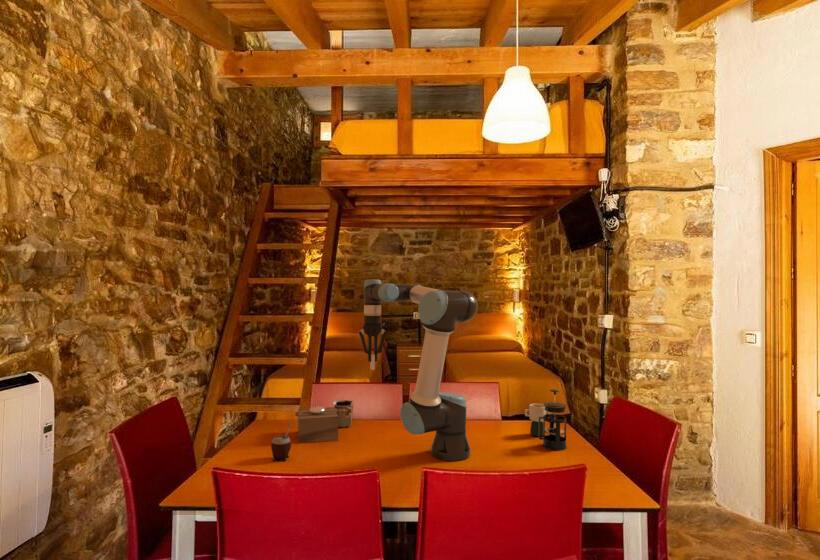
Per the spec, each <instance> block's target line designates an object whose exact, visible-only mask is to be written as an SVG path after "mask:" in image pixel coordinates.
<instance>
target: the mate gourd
mask: <svg viewBox="0 0 820 560" xmlns="http://www.w3.org/2000/svg"><path fill="white" fill-rule="evenodd" d="M297 420H298V418H296V419H294V420H292V421H291V422H290V423H289V424H288V427H287V430H286V433H285V435H277V436H274V437H273V439H272V441H271V445H270V447H271V454H272V458H273V459H272V461H273V462H277V461H282V462H284V463H285V462H286V461H287V459H288V458H289V457H290V456H289V453H290V451H291V448H292V443H291V439H290V437H289V436H288V434H289V431H290V428H291V426H292V425H293V423H295V422H296V421H297Z"/></svg>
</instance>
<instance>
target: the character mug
mask: <svg viewBox="0 0 820 560" xmlns="http://www.w3.org/2000/svg"><path fill="white" fill-rule="evenodd" d="M528 412H529V413H528ZM546 414H552V412H548V411H546V410H545V406H544V403H531V404H530V403H529V408H525V409H524V416H525V417H528V418H529V420H530V421H531V423H530V430H529V433H530V434H531V435H533V436H535V437H536V436H537V437H539V417H543V416H544V415H546ZM548 419H550V417H548ZM541 436H542V437H543V419H540V437H541Z"/></svg>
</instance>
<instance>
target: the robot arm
mask: <svg viewBox="0 0 820 560" xmlns="http://www.w3.org/2000/svg"><path fill="white" fill-rule="evenodd" d="M363 284H364V285H363V314H364V316H363V326H362V329H361V330H358V331H357V334H358V335H359V337H360V341H361V345H362V349H363V350H362V351H363V353H365V354H366V355H367V362H369V364H370V366H369V367H370V368H369V369H370V370H371V371H375V370H376V363H377V361H378V354H380V353H382V351H383V346H384V342H385V338H386V336H387V334H388V330H385V329H383V326H382V316H381V314H382V302H384V303H391V302H392V303H394V302H408V303H409V302H410V303H413V304H414V303H415V304H418V308H417V313H418V314H419V315H418V317H419V320H420V321H421V323H422V327H423V329H424V330H425V333H424V339H423V343H422V351H421V353H420V354H421V356H420V361H419V366H418V372H417V377H416V378H417V379H416V384H415V389H414V391H412V392H411V393H410V395H409V398H408V399H409V400H408V401H407V402H405V403H404V402H403V404H402V405H401V408H400V419H401V421H402V422H401V423H402V425H403V427H404V428H405V430H406V431H407V432H408V433H409V434H411V435H424V434H425V433H431V432H435V434H434V437H433V441H432V443H431V446H430V454H431V456H432V457H433V458H436V459H439V460H441V461H442V460H443V461H450V462H451V461H455V462H456V461H457V462H458V461H462V460H467V459H468V458H470V456H471V447H470V444H469V441H468V437H467V400H466V398H465V396H464V395H461V394H458V393H453V392H452V393H451V392H445V391H444V392H440V387H441V381H442V377H443V371H444V365H445V360H446V353H447V350H448V345H449V339H450V335H451V334H452V333H454V332H456V331H455V330H456V324H459V323H461V324H462V323H467V322H469V321H471V320H473V318H474V317H475V316H476V314H477V313H478V310H479V309H478V308H479V307H478V306H479V304H478V300H477V298H476V297H475V296H474V295H473V293H472V292H470V291H466V290H444V289H443V290H442V289H436V288H432V287H427V286H423V285H421V284H418V283H390V282H389V283H388V282H387V283H386V282H385V283H382V281H381V280H380V279H365V280H364V282H363ZM380 333H381V335H380V339H379V344H378V336H379V334H380ZM364 334H366V336H367V344H366V341H365V336H364ZM372 340H373V344H372ZM372 345H373V353H372Z"/></svg>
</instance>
